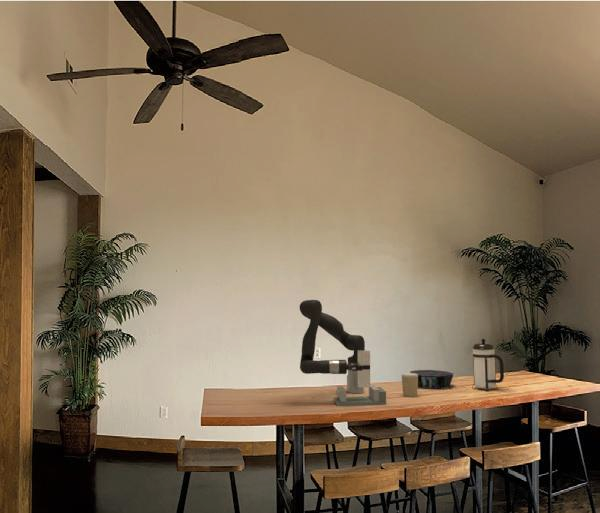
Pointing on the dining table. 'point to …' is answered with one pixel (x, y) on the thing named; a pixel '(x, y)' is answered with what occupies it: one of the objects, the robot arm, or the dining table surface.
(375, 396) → the vise base
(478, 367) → the coffee press
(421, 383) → the decorative bowl
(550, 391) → the dining table surface
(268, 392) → the dining table surface
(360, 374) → the steel block
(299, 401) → the dining table surface
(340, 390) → the sliding jaw
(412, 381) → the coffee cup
